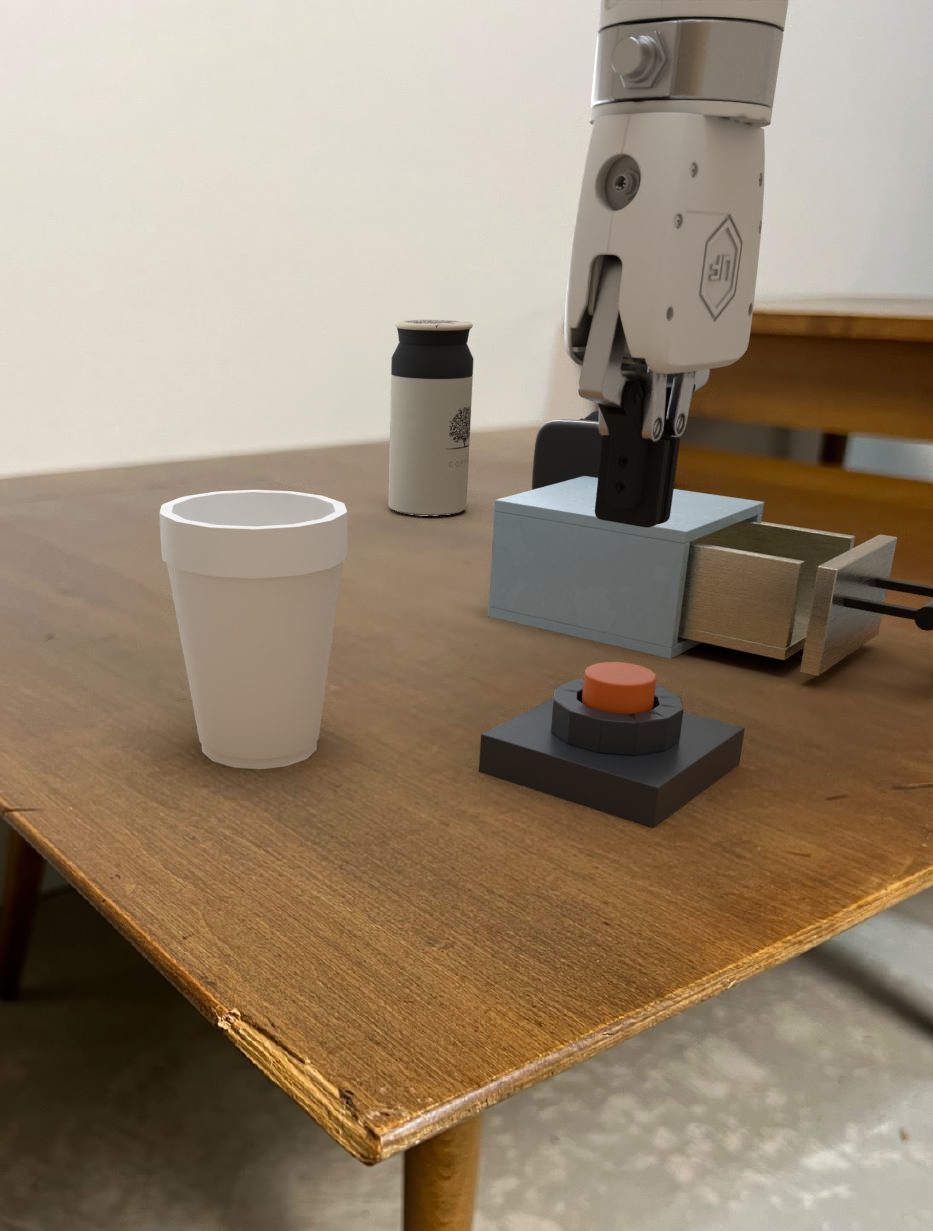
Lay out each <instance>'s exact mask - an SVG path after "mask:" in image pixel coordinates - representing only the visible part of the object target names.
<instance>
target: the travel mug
mask: <svg viewBox="0 0 933 1231" xmlns="http://www.w3.org/2000/svg"><path fill="white" fill-rule="evenodd" d="M394 327H395V328H396V331H397V336H398V343H397V346H396V348H395V350H394V352H393V354H392V356H391V360H390V362H391V368H390V412H389V413H390V414H389V423H390V424H389V455H388V456H389V461H388V463H389V464H388V465H389V466H388V468H389V469H388V502H387V503H388V508H390V510H392V511H394V510H395V511H394V512H396V511H397V513H398V512H400V513H399V514H401V513H404V514H403V515H405V514H413V515H428V516H433V515H447V514H454V515H456V514H455V513H457V514H460V513H461V512H462V511H465V510H466V509H467V507H468V506H467V505H468V504H467V503H468V482H469V465H470V464H469V460H470V441H471V421H472V420H471V419H472V400H473V380H474V356H473V354H472V352H471V350H470V347H469V345H468V340H469V335H470V331H471V329H472V328H473V327H474V325H473V323H472V322H470V321H466V320H453V319H452V320H451V319H404V320H402V319H401V320H397V321H396V322H394Z"/></svg>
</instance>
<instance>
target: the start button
mask: <svg viewBox="0 0 933 1231" xmlns="http://www.w3.org/2000/svg"><path fill="white" fill-rule="evenodd" d="M583 674H584V676H583V679H584V684H583V695H582V703H583V704H585V705H586V706H588V707H590V708H594V709H598V710H601V711H605V712H610V713H624V714H633V713H640V712H648V711H651V710H652V709H653V703H654V695H655V686H656V685H657V674H656V673H655V672H654V671H653V670H651V669H650V668H647V667H645V666H643V665H642V666H641V665H639V664H634V663H630V662H622V661H621V662H620V661H604V662H597V663H593V664H591V665H589V666H587V667H586V668H585V670H584V673H583Z"/></svg>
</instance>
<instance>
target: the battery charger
mask: <svg viewBox="0 0 933 1231" xmlns="http://www.w3.org/2000/svg"><path fill="white" fill-rule="evenodd" d="M602 437H603V435H601V434H600V433H599V429H598V421H588V420H579V419H570V418H569V419H566V418H565V419H563V418H561V419H553V420H550V421H547V422H544V424H542V425H541V426H540V428H539V429H538V430H537V433H536V436H535V441H534V447H533V448H534V449H533V456H532V457H533V458H532V467H531V468H532V470H531V490H534V489H538V488H542V487H545V486H549V485H553V484H556V483H560V482H564V481H568V480H571V479H575V478H579V477H583V476H587V477H594V478H598V474H599V465H600V456H601V446H602Z"/></svg>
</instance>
